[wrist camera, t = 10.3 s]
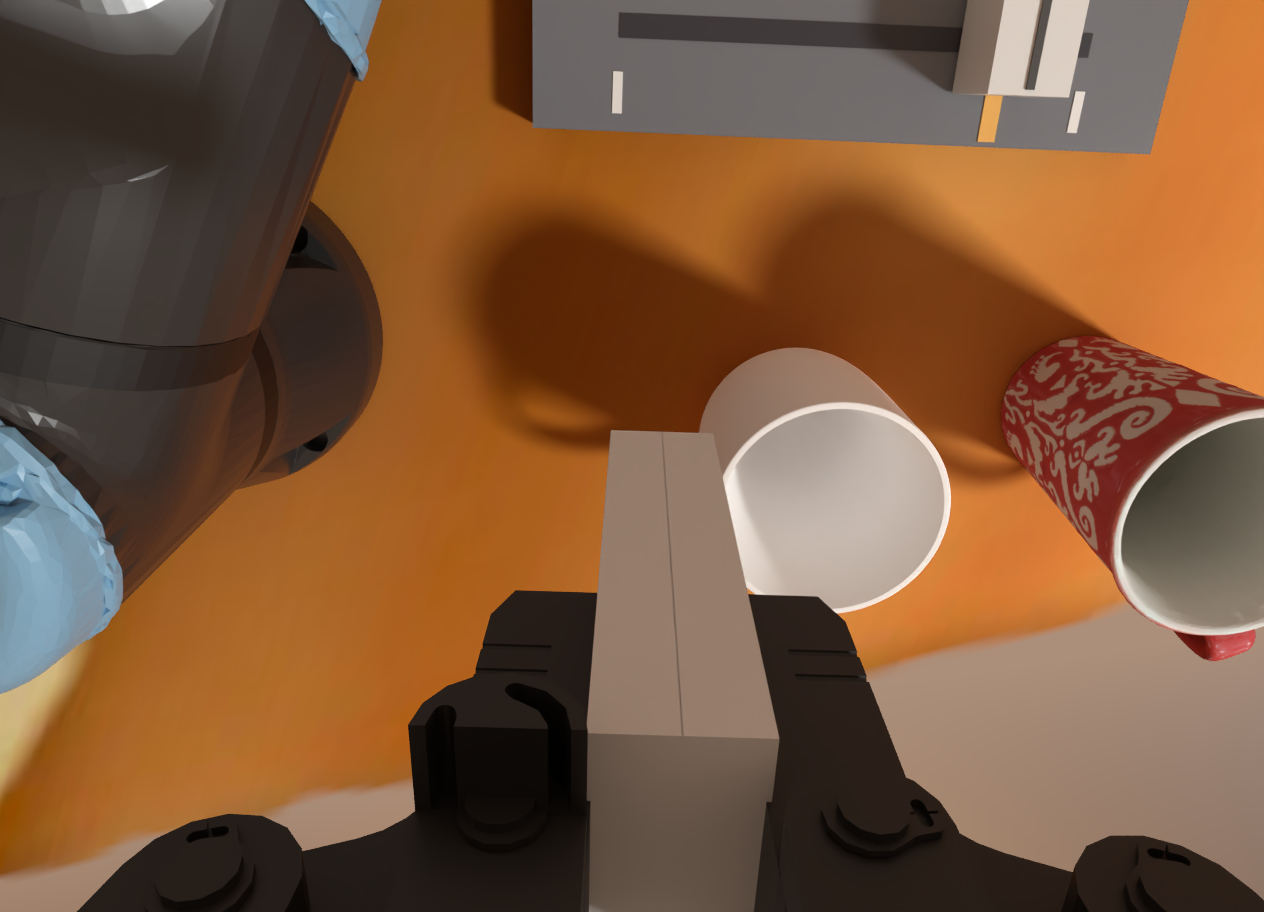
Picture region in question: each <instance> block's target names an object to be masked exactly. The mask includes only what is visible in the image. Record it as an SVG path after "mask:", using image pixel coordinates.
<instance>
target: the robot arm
mask: <svg viewBox="0 0 1264 912" xmlns="http://www.w3.org/2000/svg"><path fill="white" fill-rule="evenodd" d="M381 1H382V0H0V694H2V693H4V692H7V691H10V690H12V689H15V688H17V687H19V686H21V685H23V684H25V683H27V682H29V681H31V680H32V679H34V678H35V677H37V676H38V675H40V674H41V673H43V672H44V671H46V670H47V669H48V668H50V667H51V666H52V665H53V664H55V663H56V662H57V661H58V660H60V659H61V658H62V657H63V656H65V655H66V654H67V653H68V652H70V651H71V650H72V649H73V648H75V647H76V646H77V645H79V644H80V643H83V641H85V640H88V639H91V638H92V637H93V636H94V635H95V634H97V633H99V632H101V631H102V630H103V629H104V628H106V627H107V625H108V623H109V622H110V620H111V618H112V617H113V616H114V615H115V614H116V612H117V611H118V610H119V608H120V605H121V604H122V603H123V602H124V601H125V600H126V599H127V598H128V597H129V596H130V595H131V594H132V593H133V592H134V591H135V590H136V589H137V588H138V587H139V586H140V585H141V584H142V583H143V582H144V581H145V580H146V579H147V578H148V577H149V576H150V575H151V574H152V573H153V572H154V571H155V570H156V569H157V568H158V567H159V566H160V565H161V564H162V563H163V562H164V561H165V560H166V559H167V558H168V557H169V556H170V555H171V554H172V553H173V552H174V551H175V550H176V549H177V548H178V547H179V546H180V545H181V544H182V543H183V542H184V541H185V540H186V539H187V538H188V537H189V536H190V535H191V534H192V533H193V532H194V531H195V530H196V529H197V528H198V527H199V526H200V525H201V524H202V523H203V522H204V521H205V520H206V519H207V518H208V517H209V516H210V515H211V514H212V513H213V512H214V511H215V510H216V509H217V508H218V507H219V506H220V505H221V504H222V503H223V502H224V501H225V500H226V499H227V498H228V497H229V496H230V495H231V494H232V493H233V492H234V491H235V490H237V489H241V488H245V487H249V486H253V485H257V484H261V483H265V482H269V481H273V480H276V479H280V478H283V477H285V476H288V475H291V474H293V473H295V472H297V471H299V470H301V469H303V468H305V467H307V466H308V465H310V464H312V463H313V462H315V461H316V460H318V459H319V458H321V457H322V456H323V455H324V454H326V453H327V452H328V451H329V450H330V449H332V448H333V447H334V446H335V445H336V444H337V443H338V442H339V440H340V439H341V438H342V437H343V436H344V435H345V434H346V432H347V431H348V430H349V429H350V428H351V427H352V426H353V424H354V423H355V422H356V421H357V419H358V418H359V417H360V415H361V414H362V412H363V411H364V409H365V407H366V406H367V404H368V402H369V400H370V398H371V396H372V393H373V391H374V388H375V386H376V382H377V379H378V376H379V371H380V366H381V359H382V347H383V336H382V323H381V316H380V311H379V306H378V302H377V298H376V295H375V292H374V289H373V286H372V283H371V281H370V279H369V276H368V274H367V272H366V270H365V268H364V266H363V264H362V262H361V260H360V258H359V257H358V255H357V253H356V251H355V250H354V248H353V247H352V245H351V244H350V242H349V241H348V240H347V238H346V237H345V236H344V234H343V233H342V232H341V231H340V229H339V228H338V227H337V226H336V225H335V224H334V223H333V222H332V220H331V219H330V218H329V217H328V216H327V215H326V214H325V213H324V212H323V211H322V210H320V209H319V208H318V207H317V206H316V205H315V204H313V203H312V202H311V201H310V200H311V197H312V194H313V192H314V189H315V187H316V184H317V181H318V179H319V176H320V173H321V171H322V168H323V165H324V163H325V160H326V157H327V155H328V152H329V149H330V147H331V144H332V141H333V139H334V136H335V134H336V131H337V128H338V126H339V123H340V120H341V118H342V115H343V112H344V110H345V107H346V104H347V102H348V99H349V96H350V94H351V91H352V89H353V86H354V83H355V81H356V80H358V81H363V79H364V77H365V75H366V73H367V70H368V64H369V61H368V58H367V54H366V52H365V50H366V47H367V44H368V41H369V38H370V35H371V32H372V29H373V26H374V23H375V20H376V16H377V13H378V10H379V7H380V4H381ZM408 730H409V741H410V753H411V765H412V777H413V789H414V800H415V812H413V813H412V814H411V815H410V816H408V817H407V818H405V819H403V820H402V821H400V822H398V823H396V824H394V825H392V826H390V827H388V828H386V829H385V830H383V831H379V832H376V833H373V834H370V835H367V836H364V837H361V838H357V839H354V840H349V841H345V842H341V843H336V844H332V845H328V846H323V847H319V848H315V849H311V850H306V851H302V848H301V847H300V846H299V844H298V843H297V841H296V840H295V838H294V837H293V835H292V834H291V832H290V831H289V830H288V828H287V827H285V826H282V825H280V824H278V823H276V822H274V821H272V820H270V819H267V818H265V817H263V816H255V815H239V814H226V815H221V816H216V817H212V818H207V819H203V820H198V821H193V822H190V823H188V824H186V825H184V826H182V827H180V828H178V829H175V830H173V831H171V832H169V833H167V834H165V835H163V836H161V837H159V838H156V839H154V840H153V841H152V842H151V843H150V844H148V845H147V846H146V847H144V848H143V849H142V850H141V851H139V852H138V853H137V854H136V855H134V856H133V857H132V858H131V859H129V860H128V861H127V862H125V863H124V864H123V865H122V866H121V867H120V868H119V869H118V870H117V871H116V872H115V873H114V874H113V875H112V876H111V877H110V878H109V879H108V880H107V881H106V882H105V884H103V885H102V886H101V888H100V889H99V890H98V891H97V892H96V893H95V894H94V895H93V896H92V897H91V898H90V899H89V900H88V901H87V902H86V903H85V904H84V905H83V906H82V907H81V908H80V909H79V910H78V911H77V912H1264V900H1263V899H1262V898H1261V897H1260V896H1258V895H1257V894H1256V893H1255V892H1254V891H1253V890H1252V889H1250V888H1249V887H1248V886H1246V885H1245V884H1244V883H1242V882H1241V881H1240V880H1239V879H1237V878H1236V877H1235V876H1233V875H1232V874H1231V873H1229V872H1228V871H1227V870H1226V869H1224V868H1223V867H1222V866H1220V865H1219V864H1217V863H1215V862H1212V861H1211V860H1209V859H1207V858H1205V857H1202V856H1201V855H1199V854H1197V853H1194V852H1193V851H1191V850H1189V849H1186V848H1185V847H1183V846H1180V845H1176V844H1172V843H1168V842H1165V841H1161V840H1157V839H1154V838H1150V837H1146V836H1109V837H1106V838H1104V839H1102V840H1100V841H1097V842H1095V843H1093V844H1090V845H1088V846H1086V848H1085V850H1084V852H1083V853H1082V855H1081V857H1080V858H1079V860H1078V862H1077V863H1076V865H1075V868H1074V871H1073V872H1070V871H1066V870H1063V869H1059V868H1055V867H1052V866H1048V865H1045V864H1041V863H1038V862H1034V861H1030V860H1027V859H1024V858H1020V857H1016V856H1013V855H1009V854H1006V853H1003V852H1000V851H997V850H994V849H992V848H989V847H986V846H984V845H981V844H978V843H976V842H974V841H973V840H971V839H969V838H967V837H965V836H963V835H962V834H960V833H959V831H958V829H957V827H956V825H955V823H954V822H953V820H952V819H951V817H950V816H949V814H948V813H947V811H946V810H945V808H944V807H943V806H942V804H941V803H940V801H938V800H937V799H936V798H935V797H934V796H932V795H931V794H930V793H928V792H927V791H926V790H925V789H923V788H922V787H921V786H920V785H918V784H917V783H916V782H914V781H913V780H910V779H908V778H906V777H905V774H904V771H903V769H902V766H901V763H900V761H899V758H898V756H897V753H896V750H895V748H894V745H893V743H892V740H891V738H890V735H889V732H888V730H887V727H886V725H885V722H884V720H883V717H882V714H881V712H880V710H879V707H878V704H877V702H876V699H875V697H874V694H873V692H872V689H871V686H870V684H869V682H867V681H866V673H865V671H864V668H863V666H862V663H861V661H860V658H859V657H857V650H856V648H855V645H854V643H853V640H852V637H851V635H850V632H849V630H848V627H847V625H846V622H845V621H844V620H843V619H842V618H841V617H840V616H839V615H837V614H836V613H835V612H834V611H833V610H832V609H831V608H830V607H829V606H828V605H827V604H826V603H825V602H823V601H822V600H821V599H820V598H819V597H818V596H786V595H753V594H748V592H747V587H746V583H745V578H744V573H743V569H742V564H741V560H740V555H739V550H738V546H737V541H736V537H735V532H734V527H733V523H732V518H731V514H730V509H729V504H728V500H727V495H726V491H725V486H724V481H723V477H722V472H721V467H720V463H719V458H718V454H717V449H716V444H715V440H714V435H713V433H687V432H655V431H622V430H611V435H610V447H609V459H608V471H607V484H606V496H605V508H604V520H603V532H602V545H601V557H600V569H599V581H598V593H584V592H551V591H517V590H516V591H515V592H514V593H513V594H511V595H510V596H509V597H508V598H507V599H506V600H505V601H504V602H503V603H502V604H501V605H500V606H499V607H498V608H497V609H496V610H495V611H494V612H493V613H492V614H491V616H490V619H489V623H488V627H487V630H486V634H485V637H484V641H483V648H482V649H481V651H480V655H479V658H478V662H477V666H476V674H474V676H473V677H472V678H469V679H466V680H463V681H460V682H457V683H455V684H452V685H449V686H446V687H445V688H444V689H442V690H441V691H439V692H438V693H436V694H435V695H434V696H432V697H431V698H429V699H428V700H426V701H425V702H424V703H422V705H421V706H420V708H419V709H418V711H417V712H416V714H415V716H414V717H413V719H412V720H411V722H410V723H409V725H408Z"/></svg>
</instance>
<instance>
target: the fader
mask: <svg viewBox="0 0 1264 912" xmlns="http://www.w3.org/2000/svg"><path fill="white" fill-rule="evenodd" d="M1089 1H1090V0H967V6H966V12H965V18H964V24H963V30H962V36H961V42H960V48H959V54H958V60H957V66H956V73H955V79H954V85H953V91H952V94H968V95H991V96H1014V97H1067V98H1069V94H1070V90H1071V85H1072V80H1073V76H1074V71H1075V66H1076V62H1077V57H1078V52H1079V48H1080V43H1081V38H1082V34H1083V29H1084V24H1085V19H1086V15H1087V10H1088V5H1089Z"/></svg>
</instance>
